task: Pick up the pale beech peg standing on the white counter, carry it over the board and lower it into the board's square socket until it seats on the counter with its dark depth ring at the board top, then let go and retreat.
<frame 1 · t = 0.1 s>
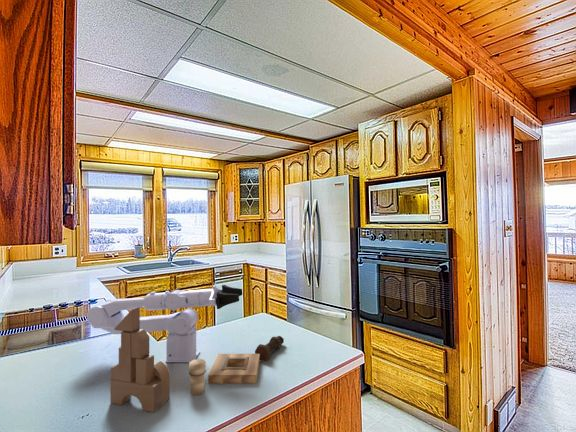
hand: (240, 294, 108), 22 cm above the countertop, tool horizontal, fingers open, 7 cm apart
board: (235, 371, 98), on the countertop
wooden toy: (138, 400, 83), on the countertop
bolt: (271, 353, 112), on the countertop
peg: (197, 391, 87), on the countertop
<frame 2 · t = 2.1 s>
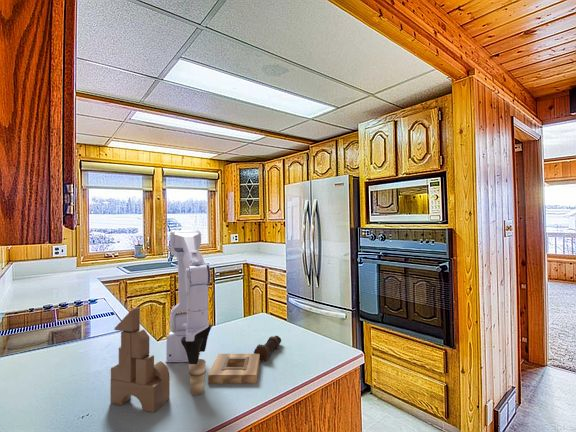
hand: (197, 357, 87), 10 cm above the countertop, tool pointing down, fingers open, 7 cm apart
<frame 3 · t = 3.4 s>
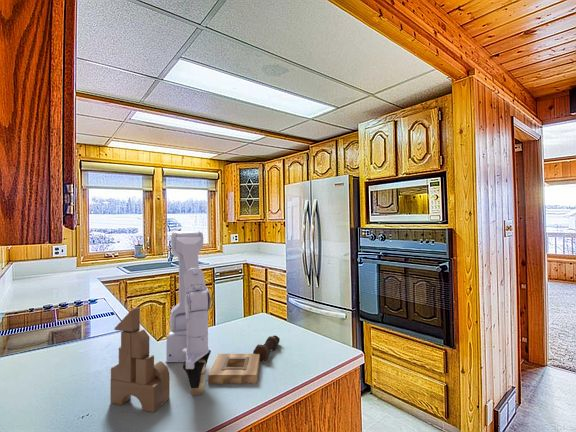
hand: (197, 382, 87), 2 cm above the countertop, tool pointing down, fingers closed on peg, 4 cm apart
peg: (197, 391, 87), on the countertop, touching gripper
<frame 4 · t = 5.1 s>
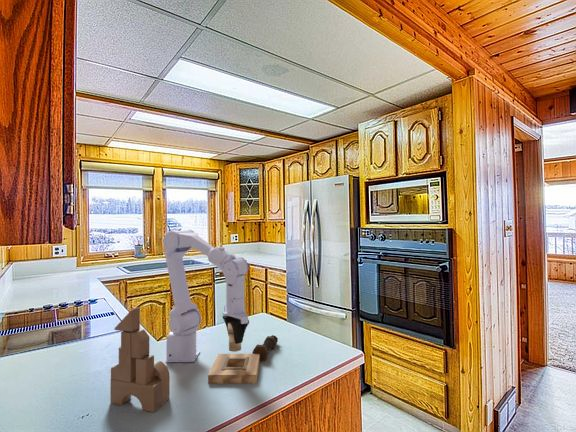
hand: (235, 340, 98), 10 cm above the countertop, tool pointing down, fingers closed on peg, 4 cm apart
peg: (235, 349, 97), point 7 cm above the countertop, touching gripper
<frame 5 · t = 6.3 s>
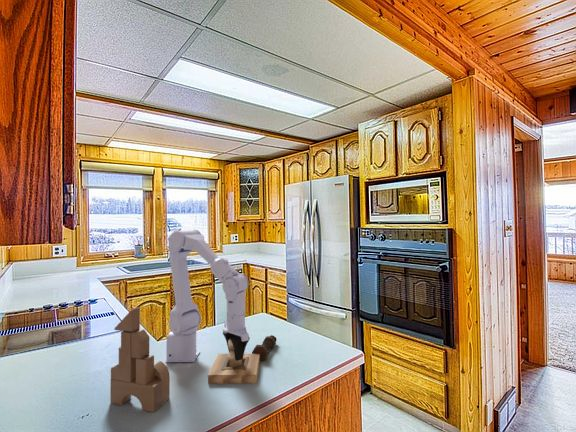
hand: (235, 356, 98), 5 cm above the countertop, tool pointing down, fingers closed on peg, 4 cm apart
peg: (235, 365, 97), point 2 cm above the countertop, touching gripper
when the fingers open (3 cm above the countertop, at t = 7.2 s): peg stays where it is, resting in board.
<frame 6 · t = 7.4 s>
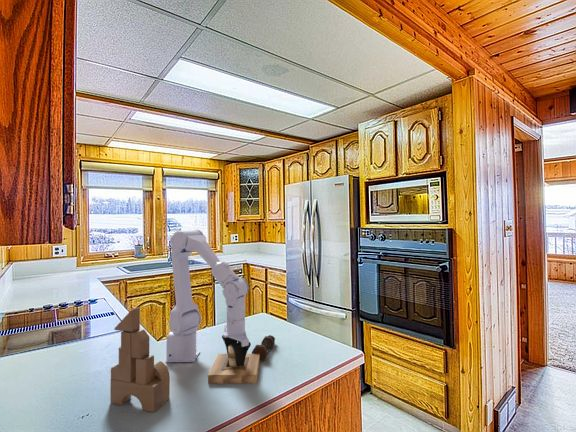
hand: (235, 361, 98), 3 cm above the countertop, tool pointing down, fingers open, 6 cm apart
peg: (235, 372, 97), resting in board
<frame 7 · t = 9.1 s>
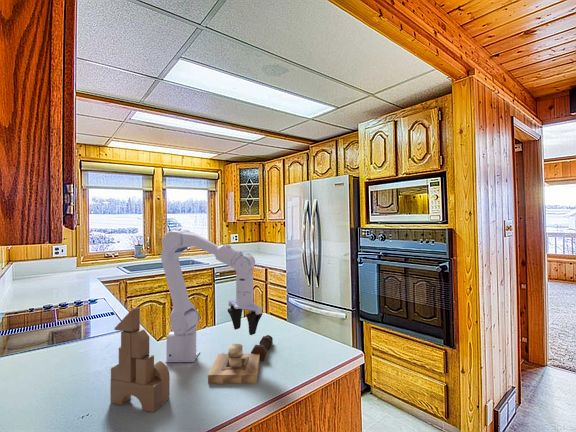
hand: (244, 331, 104), 10 cm above the countertop, tool pointing down, fingers open, 7 cm apart
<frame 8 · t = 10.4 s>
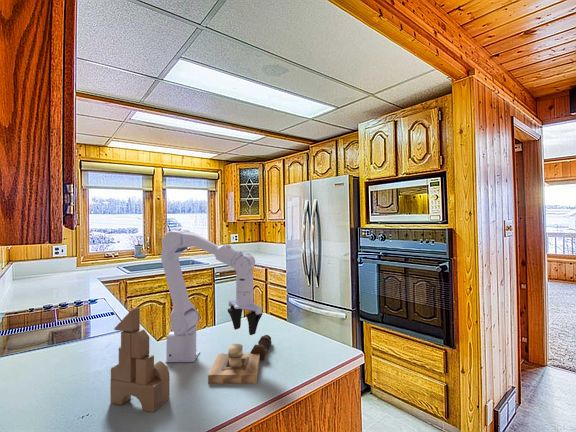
hand: (244, 331, 104), 10 cm above the countertop, tool pointing down, fingers open, 7 cm apart
at the end: peg 0.4 cm from the board (horizontally); peg tilted 1°; peg resting in board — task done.
